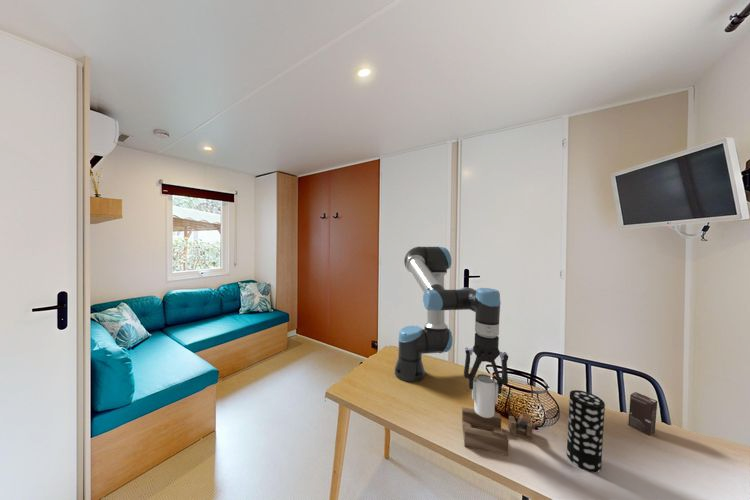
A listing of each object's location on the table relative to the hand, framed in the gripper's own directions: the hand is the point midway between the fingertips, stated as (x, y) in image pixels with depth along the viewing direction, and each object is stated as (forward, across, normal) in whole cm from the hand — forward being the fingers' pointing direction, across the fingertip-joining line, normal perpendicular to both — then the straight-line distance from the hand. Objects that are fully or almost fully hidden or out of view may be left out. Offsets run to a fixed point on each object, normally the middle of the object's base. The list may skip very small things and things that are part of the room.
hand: (484, 399), depth 87 cm
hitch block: (+13, +5, +1) cm, 14 cm away
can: (+5, 0, 0) cm, 5 cm away
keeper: (+8, +13, +2) cm, 15 cm away
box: (+13, +57, +21) cm, 62 cm away
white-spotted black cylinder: (+13, +29, -1) cm, 32 cm away
